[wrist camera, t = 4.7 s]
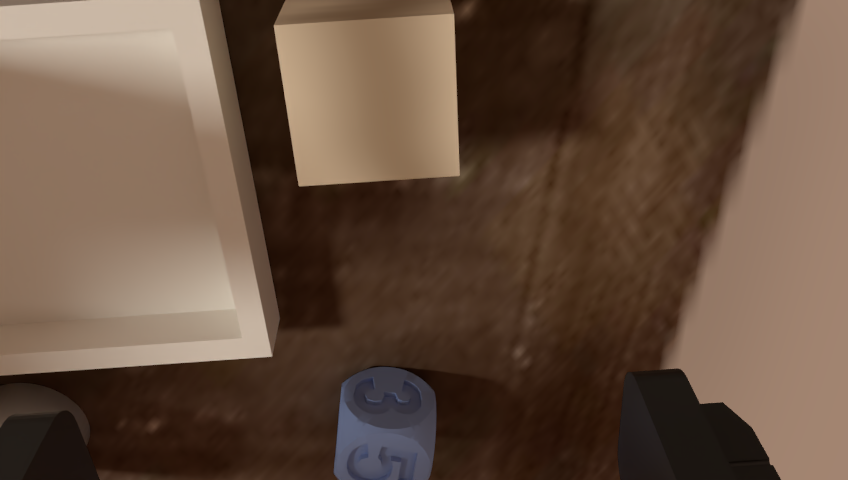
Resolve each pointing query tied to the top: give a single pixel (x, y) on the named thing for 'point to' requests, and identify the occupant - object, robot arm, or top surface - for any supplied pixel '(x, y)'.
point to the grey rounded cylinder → (39, 403)
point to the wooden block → (369, 89)
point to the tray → (125, 190)
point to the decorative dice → (385, 426)
